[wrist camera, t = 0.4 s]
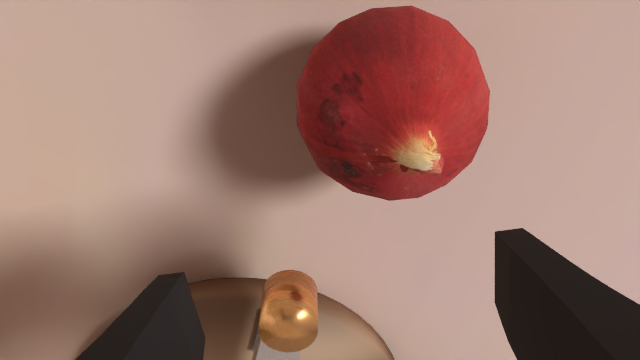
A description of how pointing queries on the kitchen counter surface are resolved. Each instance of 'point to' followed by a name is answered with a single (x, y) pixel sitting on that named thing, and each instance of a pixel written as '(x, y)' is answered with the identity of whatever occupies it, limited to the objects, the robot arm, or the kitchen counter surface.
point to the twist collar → (287, 316)
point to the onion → (393, 103)
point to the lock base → (244, 314)
